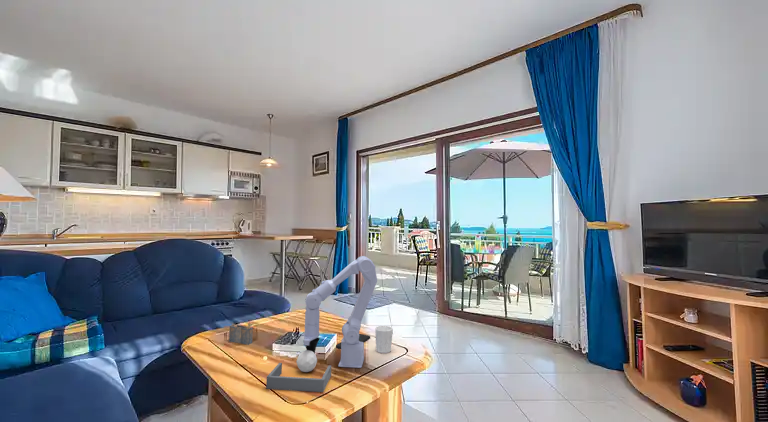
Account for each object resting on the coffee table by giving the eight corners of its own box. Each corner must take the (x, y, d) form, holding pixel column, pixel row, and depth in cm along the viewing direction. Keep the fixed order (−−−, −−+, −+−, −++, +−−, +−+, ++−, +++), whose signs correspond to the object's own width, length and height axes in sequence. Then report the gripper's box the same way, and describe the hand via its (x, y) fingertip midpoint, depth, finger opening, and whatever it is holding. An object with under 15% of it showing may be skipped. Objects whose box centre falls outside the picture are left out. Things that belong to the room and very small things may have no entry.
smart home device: (371, 335, 169) (350, 348, 151) (371, 339, 169) (350, 352, 151) (357, 332, 172) (334, 345, 154) (357, 336, 172) (334, 348, 154)
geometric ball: (309, 379, 128) (309, 368, 124) (292, 369, 130) (292, 358, 126) (320, 363, 134) (321, 352, 130) (304, 353, 136) (304, 342, 132)
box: (331, 376, 126) (331, 365, 126) (323, 392, 114) (323, 380, 114) (279, 373, 127) (279, 362, 127) (266, 388, 115) (266, 376, 115)
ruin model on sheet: (252, 343, 158) (253, 322, 159) (248, 345, 155) (249, 324, 156) (233, 340, 162) (234, 319, 162) (229, 342, 159) (229, 321, 159)
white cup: (372, 352, 151) (372, 329, 151) (378, 346, 158) (379, 324, 158) (388, 355, 148) (388, 332, 148) (394, 348, 155) (395, 327, 155)
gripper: (307, 317, 142) (306, 349, 142) (296, 328, 128) (295, 364, 127) (324, 318, 142) (322, 350, 141) (314, 329, 127) (313, 365, 127)
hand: (310, 357), depth 134 cm, fingers closed
